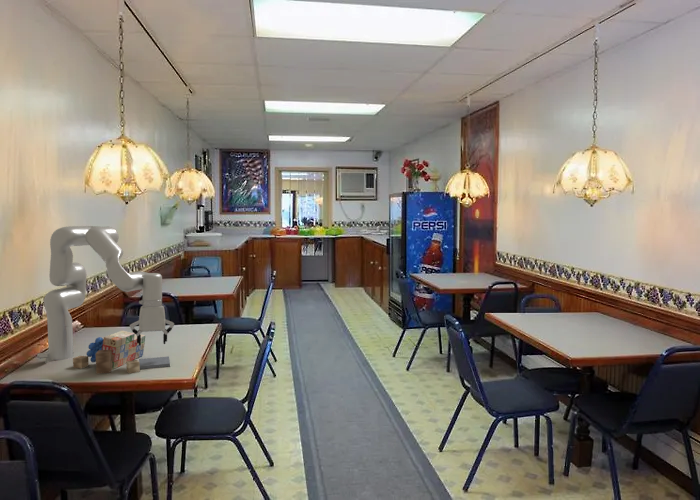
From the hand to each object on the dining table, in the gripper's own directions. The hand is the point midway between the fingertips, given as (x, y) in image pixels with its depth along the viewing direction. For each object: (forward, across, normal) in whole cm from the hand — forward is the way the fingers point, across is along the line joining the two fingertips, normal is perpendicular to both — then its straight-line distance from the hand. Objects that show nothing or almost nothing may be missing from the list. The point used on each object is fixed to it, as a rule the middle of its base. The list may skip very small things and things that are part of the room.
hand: (152, 344), depth 225 cm
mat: (+8, +1, -1) cm, 8 cm away
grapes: (+9, -20, +8) cm, 23 cm away
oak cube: (+9, -27, +6) cm, 29 cm away
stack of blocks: (+8, -12, +8) cm, 16 cm away
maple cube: (+9, -7, -9) cm, 14 cm away
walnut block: (+9, -18, -5) cm, 20 cm away
